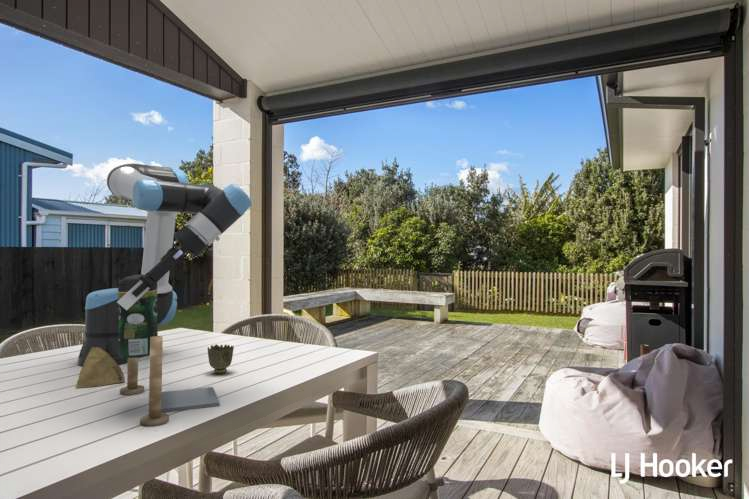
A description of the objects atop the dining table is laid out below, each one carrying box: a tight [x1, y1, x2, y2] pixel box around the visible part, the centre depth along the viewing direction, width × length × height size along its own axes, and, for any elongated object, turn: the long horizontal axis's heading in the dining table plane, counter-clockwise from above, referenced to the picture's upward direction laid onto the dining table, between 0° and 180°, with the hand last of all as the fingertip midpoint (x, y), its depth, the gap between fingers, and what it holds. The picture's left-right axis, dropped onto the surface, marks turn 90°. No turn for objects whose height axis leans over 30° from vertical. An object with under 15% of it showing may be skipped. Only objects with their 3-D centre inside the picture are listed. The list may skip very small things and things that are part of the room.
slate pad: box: [161, 386, 221, 413], centre depth 116 cm, size 13×14×1 cm
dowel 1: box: [119, 358, 145, 396], centre depth 122 cm, size 6×6×18 cm
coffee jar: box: [117, 273, 159, 359], centre depth 110 cm, size 10×8×19 cm
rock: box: [75, 347, 126, 389], centre depth 128 cm, size 11×9×10 cm
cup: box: [207, 344, 235, 375], centre depth 141 cm, size 8×7×8 cm
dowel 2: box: [139, 335, 170, 428], centre depth 101 cm, size 6×6×18 cm
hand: (123, 303), depth 109 cm, fingers closed on coffee jar, 10 cm apart
